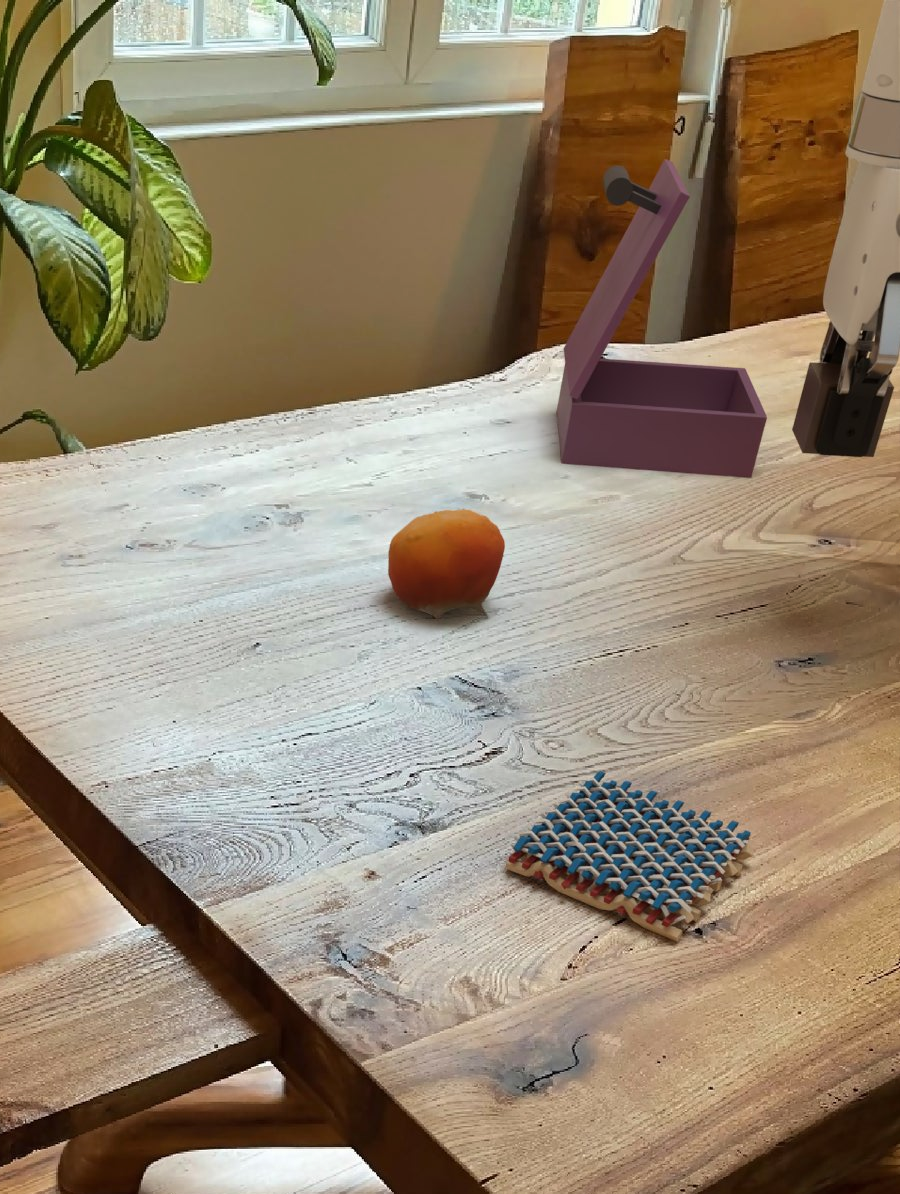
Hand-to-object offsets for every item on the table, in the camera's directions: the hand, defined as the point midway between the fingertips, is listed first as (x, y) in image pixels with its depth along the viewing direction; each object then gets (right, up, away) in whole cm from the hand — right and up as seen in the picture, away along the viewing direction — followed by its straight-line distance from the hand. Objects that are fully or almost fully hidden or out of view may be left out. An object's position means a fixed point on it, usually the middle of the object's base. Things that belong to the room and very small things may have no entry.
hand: (833, 437), depth 98 cm
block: (0, 0, 0) cm, 0 cm away
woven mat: (-19, -30, -18) cm, 40 cm away
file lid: (-7, +21, +23) cm, 32 cm away
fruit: (-25, -9, +8) cm, 28 cm away
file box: (-3, +9, +32) cm, 33 cm away
